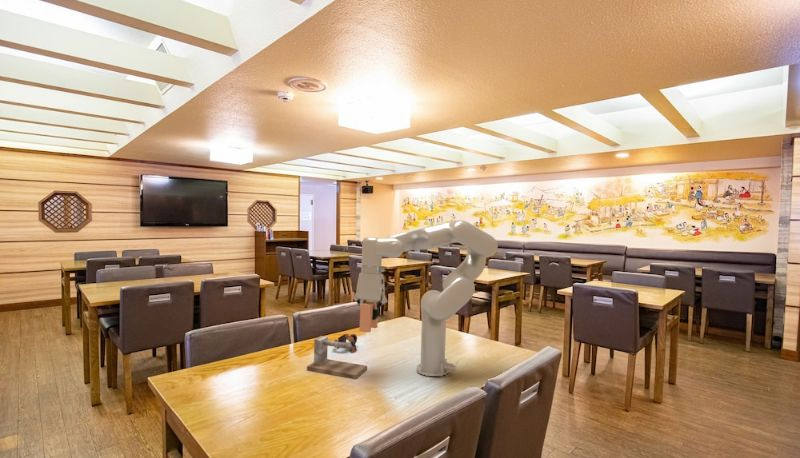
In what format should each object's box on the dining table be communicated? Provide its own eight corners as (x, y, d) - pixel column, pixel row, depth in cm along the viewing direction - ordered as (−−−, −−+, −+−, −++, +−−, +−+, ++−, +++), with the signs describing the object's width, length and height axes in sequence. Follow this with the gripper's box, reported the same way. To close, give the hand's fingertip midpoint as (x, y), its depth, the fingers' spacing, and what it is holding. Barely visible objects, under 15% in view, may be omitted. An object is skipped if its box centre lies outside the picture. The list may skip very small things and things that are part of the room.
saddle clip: (377, 327, 148) (378, 301, 148) (369, 332, 141) (370, 305, 141) (367, 326, 149) (369, 300, 149) (359, 331, 142) (360, 304, 142)
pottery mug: (350, 356, 166) (341, 339, 166) (336, 361, 171) (327, 345, 171) (365, 342, 176) (357, 326, 176) (351, 347, 181) (343, 332, 181)
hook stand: (367, 369, 150) (367, 340, 150) (355, 379, 141) (356, 348, 141) (320, 361, 158) (321, 333, 157) (306, 370, 148) (307, 340, 148)
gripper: (395, 271, 146) (393, 319, 146) (355, 267, 151) (353, 313, 151) (388, 273, 139) (385, 323, 139) (346, 269, 144) (344, 317, 144)
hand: (369, 317), depth 145 cm, fingers closed on saddle clip, 4 cm apart
